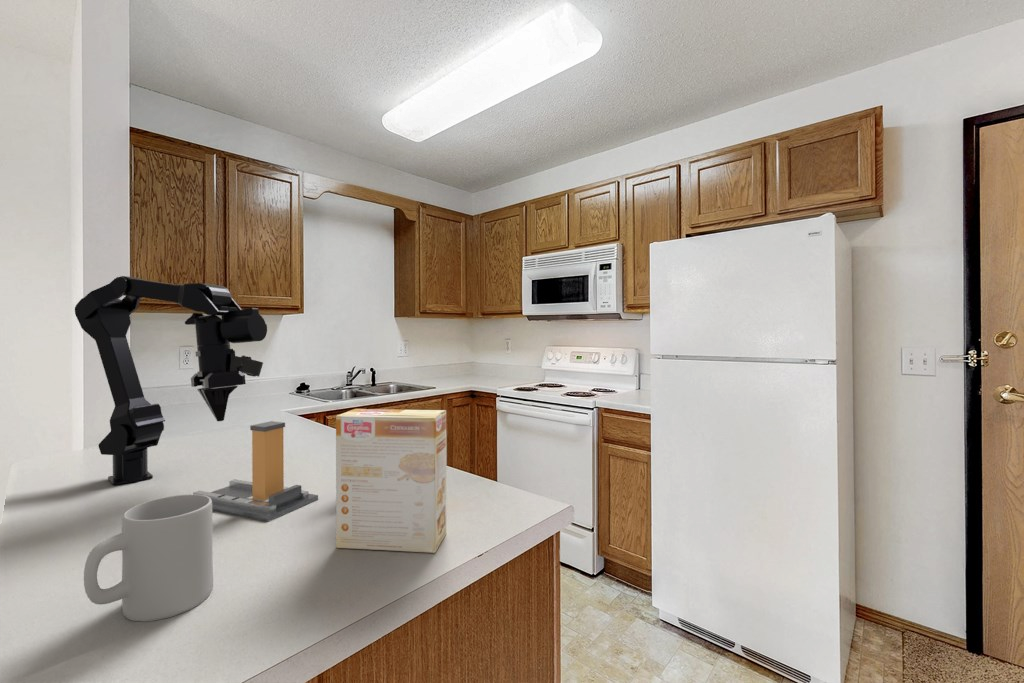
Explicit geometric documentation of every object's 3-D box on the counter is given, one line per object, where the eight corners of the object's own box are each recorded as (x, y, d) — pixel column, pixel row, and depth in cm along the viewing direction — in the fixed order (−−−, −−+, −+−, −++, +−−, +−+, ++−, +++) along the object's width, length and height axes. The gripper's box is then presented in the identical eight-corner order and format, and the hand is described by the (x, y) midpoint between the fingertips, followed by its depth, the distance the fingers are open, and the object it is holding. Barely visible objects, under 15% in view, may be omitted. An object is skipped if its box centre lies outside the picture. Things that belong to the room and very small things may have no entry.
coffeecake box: (447, 533, 73) (448, 409, 72) (435, 554, 65) (436, 417, 65) (355, 528, 74) (355, 407, 74) (334, 549, 67) (334, 414, 67)
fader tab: (246, 502, 82) (246, 425, 82) (269, 493, 87) (269, 420, 87) (266, 506, 81) (266, 427, 80) (289, 497, 85) (288, 422, 85)
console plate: (185, 504, 84) (185, 487, 84) (240, 486, 94) (240, 470, 94) (268, 521, 76) (268, 502, 76) (318, 499, 87) (318, 482, 87)
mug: (188, 574, 60) (188, 489, 60) (228, 591, 56) (228, 501, 56) (66, 626, 49) (65, 523, 49) (105, 651, 45) (104, 540, 45)
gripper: (270, 340, 94) (276, 417, 94) (245, 344, 107) (251, 411, 107) (205, 344, 86) (212, 427, 86) (187, 348, 100) (194, 420, 100)
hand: (220, 421), depth 95 cm, fingers closed
